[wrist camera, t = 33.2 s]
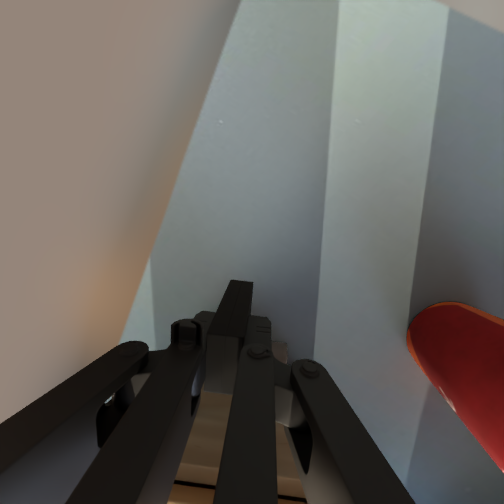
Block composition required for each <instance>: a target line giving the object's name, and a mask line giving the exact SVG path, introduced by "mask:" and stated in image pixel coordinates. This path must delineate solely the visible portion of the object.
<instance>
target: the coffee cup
mask: <svg viewBox="0 0 504 504" xmlns="http://www.w3.org/2000/svg"><path fill="white" fill-rule="evenodd" d="M407 346H408V349H409V352H410V353H411V355H412V357H413V358H414V360H415V361H416V363H417V364H418V365H419V367H420V368H421V369H422V371H423V372H424V373H425V374H426V376H427V377H428V378H429V380H430V381H431V382H432V383H433V385H434V386H435V387H436V389H437V390H438V391H439V392H440V394H441V395H442V396H443V398H444V399H445V400H446V401H447V403H448V404H449V405H450V406H451V408H452V409H453V410H454V411H455V413H456V414H457V415H458V416H459V418H460V419H461V420H462V422H463V423H464V424H465V425H466V427H467V428H468V429H469V430H470V432H471V433H472V434H473V435H474V437H475V438H476V439H477V441H478V442H479V443H480V444H481V446H482V447H483V448H484V449H485V451H486V452H487V453H488V454H489V456H490V457H491V458H492V459H493V461H494V462H495V463H496V464H497V466H498V467H499V468H500V469H501V471H502V472H503V473H504V320H503V319H500V318H498V317H496V316H493V315H491V314H489V313H486V312H484V311H481V310H479V309H477V308H474V307H471V306H469V305H466V304H462V303H458V302H442V303H438V304H435V305H432V306H430V307H428V308H426V309H424V310H423V311H422V312H420V313H419V314H418V315H417V316H416V317H415V318H414V320H413V321H412V323H411V324H410V326H409V329H408V332H407Z"/></svg>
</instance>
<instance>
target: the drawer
mask: <svg viewBox="0 0 504 504" xmlns="http://www.w3.org/2000/svg"><path fill="white" fill-rule="evenodd" d="M272 352H273V355H274V357H275V358H276V359H277V360H279V361H281V362H282V363H285V364H287V354H288V351H287V344H286V343H283V342H274V341H272ZM232 396H233V395H227V394H219V393H210V392H204V384H203V387H202V389H201V401H200V405H199V408H198V411H197V414H196V417H195V420H194V423H193V426H192V429H191V432H190V435H189V438H188V441H187V444H186V447H185V450H184V453H183V456H182V459H181V462H180V466H179V469H178V472H177V475H176V478H175V481H174V484H179V485H186V481H187V482H194V483H201V484H208V485H215V486H216V483H217V477H218V472H219V466H220V461H221V456H222V450H223V445H224V439H225V434H226V428H227V423H228V417H229V412H230V407H231V401H232ZM276 454H277V488H278V499H284V500H291V501H298V502H305V503H307V500H306V497H305V494H304V490H303V487H302V484H301V481H300V478H299V475H298V472H297V469H296V466H295V462H294V459H293V456H292V453H291V450H290V447H289V444H288V441H287V438H286V434H285V431H284V425H283V424H280V423H278V422H276Z"/></svg>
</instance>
